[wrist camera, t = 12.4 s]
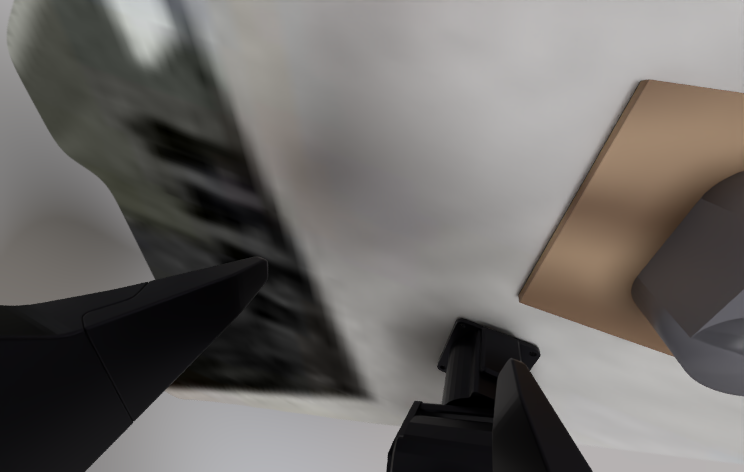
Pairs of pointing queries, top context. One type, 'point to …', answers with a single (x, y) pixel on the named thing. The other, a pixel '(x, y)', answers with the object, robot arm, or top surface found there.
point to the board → (636, 204)
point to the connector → (702, 289)
